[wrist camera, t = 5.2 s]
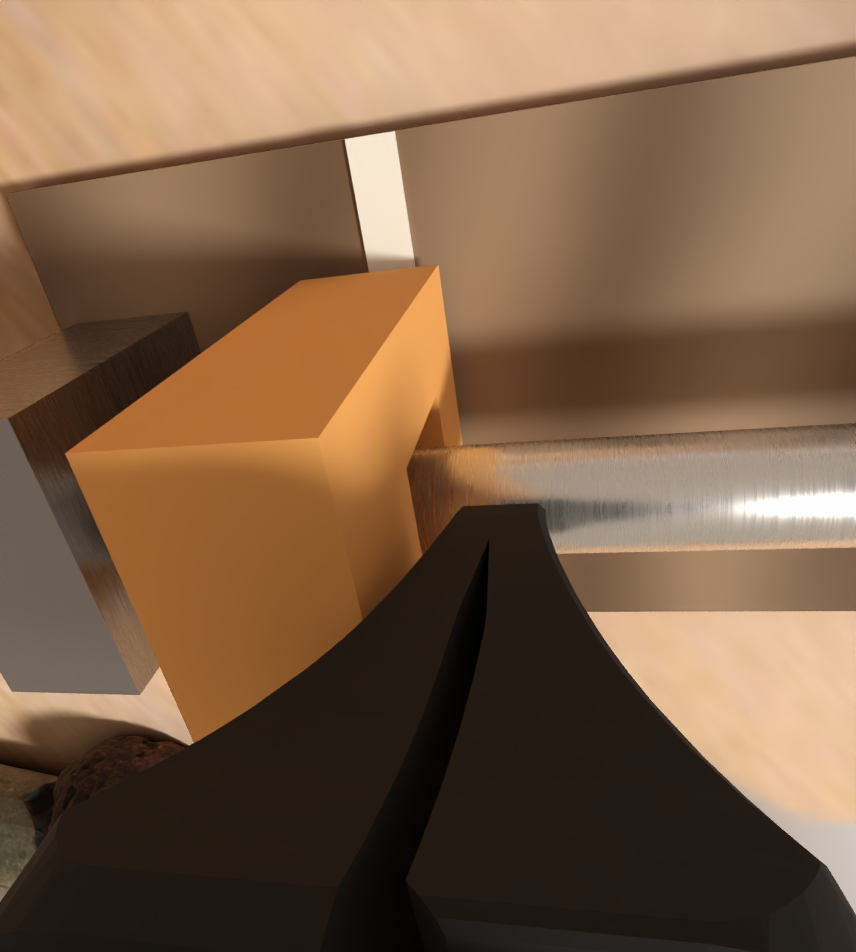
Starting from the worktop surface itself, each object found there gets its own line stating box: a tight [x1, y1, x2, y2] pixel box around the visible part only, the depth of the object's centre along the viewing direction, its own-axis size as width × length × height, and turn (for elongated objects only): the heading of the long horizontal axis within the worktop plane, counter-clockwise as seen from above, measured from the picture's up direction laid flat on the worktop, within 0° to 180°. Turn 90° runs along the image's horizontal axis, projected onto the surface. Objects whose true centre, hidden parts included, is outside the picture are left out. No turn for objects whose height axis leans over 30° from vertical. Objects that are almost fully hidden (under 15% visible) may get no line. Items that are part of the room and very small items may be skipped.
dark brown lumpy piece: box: [0, 735, 185, 890], centre depth 25 cm, size 18×7×6 cm, turn 91°
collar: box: [65, 265, 463, 743], centre depth 12 cm, size 3×7×8 cm, turn 8°
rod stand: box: [0, 56, 856, 695], centre depth 13 cm, size 26×12×7 cm, turn 98°
